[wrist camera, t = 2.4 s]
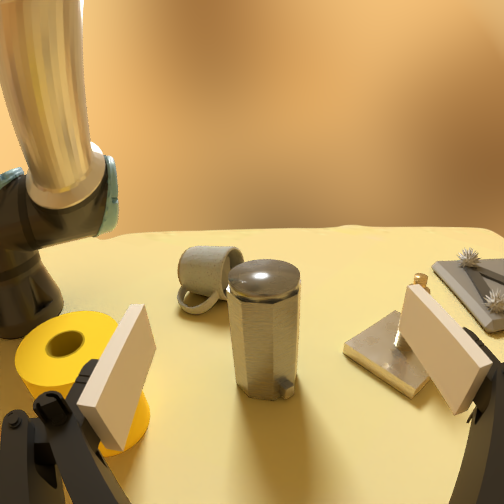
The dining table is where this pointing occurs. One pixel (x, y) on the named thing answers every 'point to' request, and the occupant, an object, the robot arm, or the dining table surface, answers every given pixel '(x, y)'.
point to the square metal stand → (390, 352)
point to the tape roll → (71, 360)
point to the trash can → (265, 326)
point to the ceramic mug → (206, 274)
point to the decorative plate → (477, 287)
